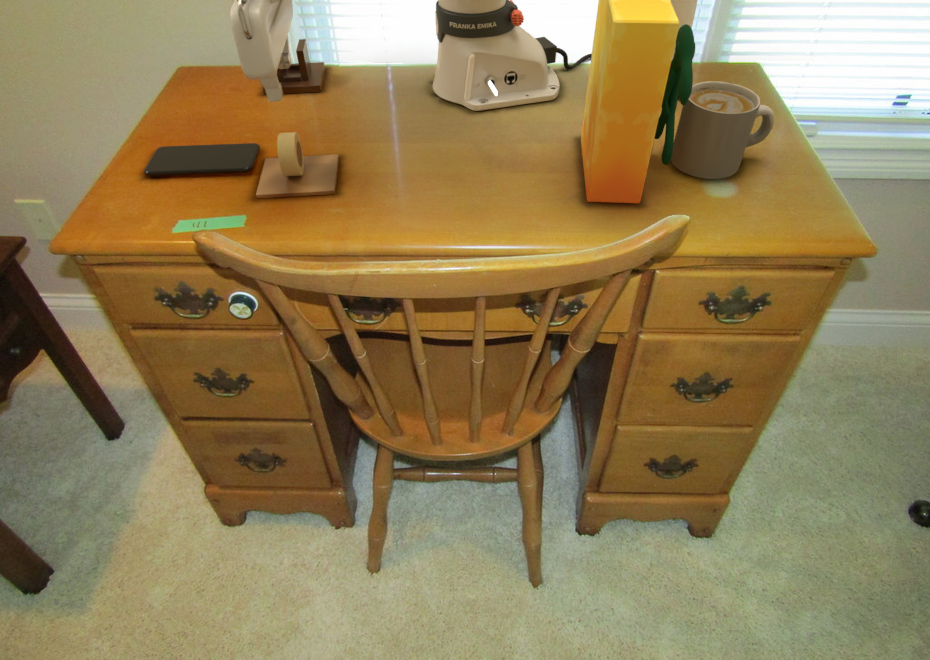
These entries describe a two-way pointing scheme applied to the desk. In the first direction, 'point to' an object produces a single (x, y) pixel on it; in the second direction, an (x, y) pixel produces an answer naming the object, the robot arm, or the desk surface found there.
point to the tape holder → (301, 73)
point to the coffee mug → (718, 129)
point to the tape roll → (290, 154)
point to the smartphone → (202, 159)
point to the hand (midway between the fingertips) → (280, 82)
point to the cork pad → (299, 178)
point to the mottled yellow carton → (632, 94)
